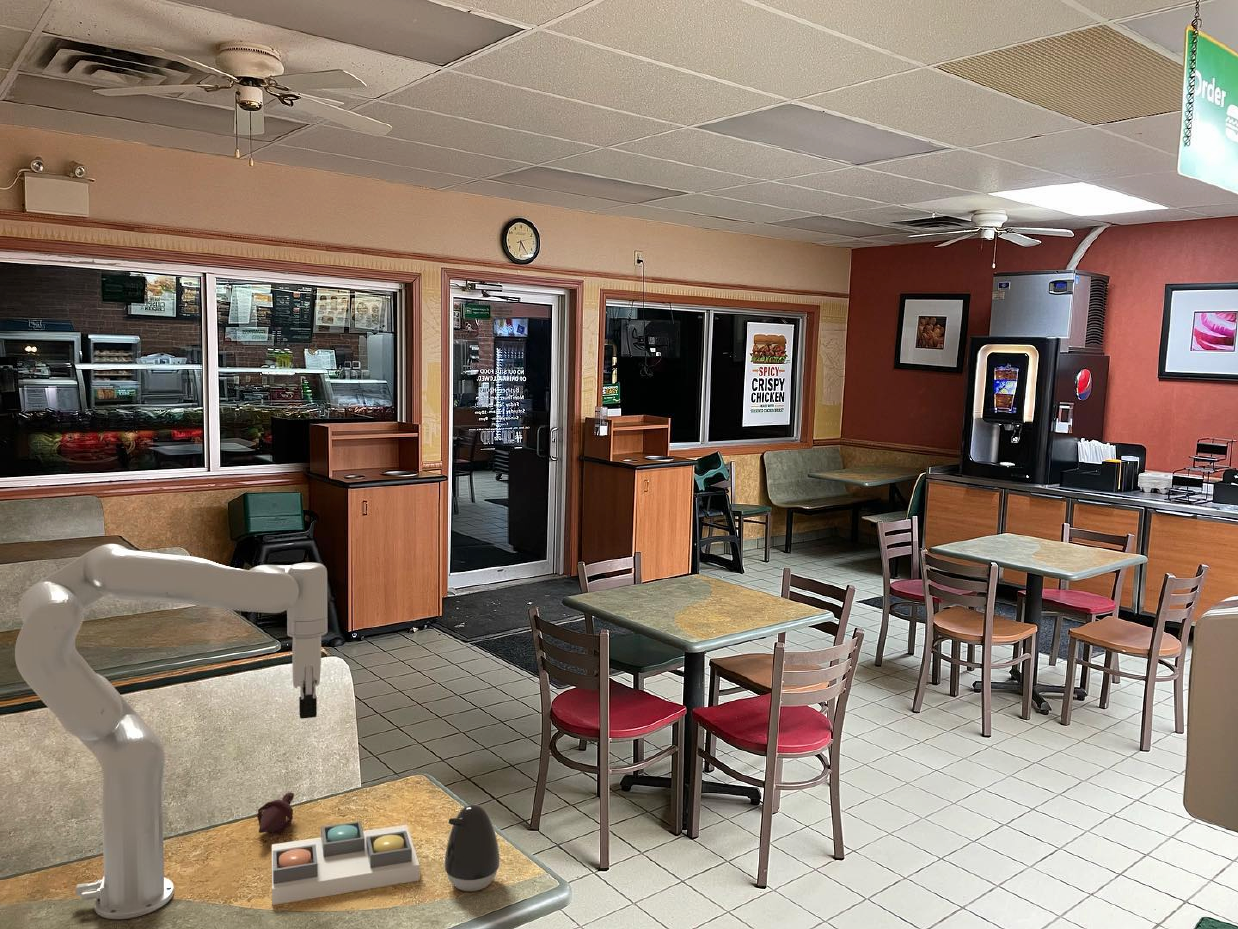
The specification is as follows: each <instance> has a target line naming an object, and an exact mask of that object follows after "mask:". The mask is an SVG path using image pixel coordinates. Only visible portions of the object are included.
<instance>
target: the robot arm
mask: <svg viewBox="0 0 1238 929" xmlns="http://www.w3.org/2000/svg"><path fill="white" fill-rule="evenodd" d="M104 597H108V598H112V599H119V600H132V601H133V600H134V601H145V602H146V601H149V602H163V603H176V604H185V605H187V604H188V605H192V606H193V605H194V606H198V607H205V608H206V607H208V608H214V609H215V608H216V609H223V610H232V611H239V612H248V613H249V612H252V613H254V612H255V613H263V614H264V613H268V614H278V613H282V612H285V611H286V615H287V616H286V618H287V619H286V620H287V622H286V626H287V627H286V628H287V630H286V631H287V633H286V634H287V636H288V637H290V638H292V648H291V650H292V651H291V654H292V655H291V657H292V660H291V661H292V666H291V667H292V684H293V688H294V689H298V687H300V696H299V699H298V700H299V702H298V703H299V708H298V709H299V719H301V720H302V719H310V718H311V719H312V718H316V717H317V716H318V715H317V714H318V712H317V711H318V702H317V701H318V698H317V694H316V689H317V688H316V687H318V686H319V685H321V684H320V682H321V669H322V666H321V665H322V636H325V635H326V634H327V633H328V570H327V567H326V566H325V565H324V564H323V563H319V562H301V563H300V562H299V563H294V564H290V565H284V564H282V565H281V564H280V565H278V564H277V565H275V564H262V565H257V566H254V567H252V568H249V570H248V569H242V568H235V567H231V566H226V565H224V564H219V563H218V562H217V563H216V562H215V561H212V560H208V559H205V558H201V557H197V556H192V555H191V556H189V555H182V554H181V555H179V554H172V553H170V554H169V553H159V552H151V551H142V550H141V551H139V550H132V549H128V548H127V547H125V546H123V545H121V544H116V543H107V544H102V545H100V546H99V545H98V546H97V547H95V548H93V549H91V550H89V551H87V552H86V553H84V554H82V555H81V556H79V557H78V558H76V559H74V560H72V561H71V562H69V563H67V564H66V565H64V566H62V567H60V568H59V569H57V570H56V571H54V572H52V573H51V574H48V575H47V576H46V577H43V578H42V579H40V580H39V581H37V582H36V583H34V584H33V585H31V586H30V587H29V588H28V589H27V590H26V591H25V592H24V593H23V594H22V596H21V599H20V601H19V602H18V604H19V605H18V614H19V616H20V619H21V621H22V626H21V628H20V631H19V633H18V636H17V638H16V642H15V646H14V656H15V657H14V659H15V660H14V661H15V663H16V668H17V671H18V672H19V674H20V675H21V677H22V679H23V681H25V683H27V685H28V686H29V688H30V689H31V690H33V692H34V693H35V694H36V695H37V696H38V697H39V699H40V700H41V701H42V703H43V704H44V705H45V706H46V707H47V708H48V709H49V710H50V712H52V713H53V715H54V716H55V717H56V718H57V719H58V721H59V723H60V724H61V726H62V727H63V728H64V729H65V730H66V731H67V732H68V733H70V735H72V736H74V737H76V738H77V739H79V741H81V743H82V744H83V745H84V746H85V747H86V748H87V749H88V750H89V751H90V752H91V753H92V754H93V756H94V757H95V759H96V760H97V762H98V764H99V766H100V768H101V770H102V781H103V783H102V794H101V796H102V798H101V799H102V800H101V817H102V818H101V819H102V820H101V821H102V822H101V823H102V845H103V846H102V849H103V850H102V851H103V854H102V855H103V877H102V878H101V879H97V881H96V882H84V883H79V884H76V888H75V895H76V897H80V896H81V897H80V899H81V902H83V901H90V900H92V899H95V900H94V911H95V912H96V914H97V915H98V916H100V917H102V918H105V919H109V920H125V919H133V918H139V917H142V916H144V915H147V914H150V913H152V912H155V911H157V910H158V909H160V908H162V907H164V906H165V905H166V904H168V903H169V901H171V899H172V898H173V896H174V893H175V885H174V883H173V882H172V880H170V879H168V878H167V877H165V861H164V860H165V856H164V855H165V854H164V811H163V810H164V809H163V808H164V807H163V805H164V804H163V794H164V793H163V792H164V791H163V789H164V788H163V786H164V774H165V767H166V766H165V765H166V756H165V750H164V746H163V745H162V742H161V740H160V738H159V737H158V735H157V734H156V733H155V732H154V731H153V729H151V728H150V726H149V725H148V724H147V723H146V721H145V720H144V719H143V718H142V717H141V716H140V715H139V714H138V713H137V711H136V710H134V707H132V706H131V705H130V703H128V701H127V700H126V699H125V697H124V696H123V695H121V694H120V692H119V691H118V690H117V689H116V688H115V687H114V685H113V684H112V683H111V682H110V680H109V679H107V678H106V677H105V676H104V675H101V674H99V673H96V672H95V671H94V670H93V668H92V667H91V666H90V665H89V664H88V662H87V661H86V660H85V658H84V657H83V656H82V655H81V654H80V653H79V652H78V650H77V647H76V638H77V635H78V633H79V631H80V629H81V627H82V625H83V622H84V619H85V611H84V610H85V609H86V608H88V607H89V606H91V605H93V604H94V603H96V602H97V601H99V600H101V599H102V598H104Z"/></svg>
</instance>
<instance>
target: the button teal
mask: <svg viewBox="0 0 1238 929" xmlns="http://www.w3.org/2000/svg"><path fill="white" fill-rule="evenodd" d="M355 838H357V828H356V827H354V826H351V825H341V826H337V827H334V828H332V829H330V830H329V831H328V842H335V841H341V840H348V839H355Z"/></svg>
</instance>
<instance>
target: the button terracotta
mask: <svg viewBox="0 0 1238 929" xmlns="http://www.w3.org/2000/svg"><path fill="white" fill-rule="evenodd" d="M309 863H311V853H310V852H309V851H308V850H305V849H294V850H289V851H287V852H285V853H283V854H281V855H280V857H279V868H284V867H290V866H296V865H303V864H309Z"/></svg>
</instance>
